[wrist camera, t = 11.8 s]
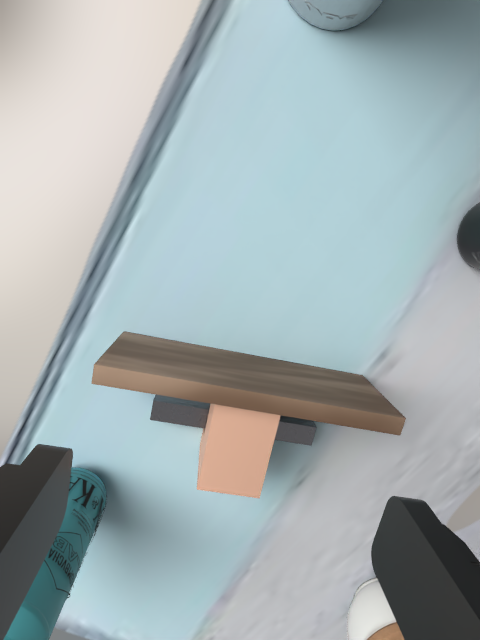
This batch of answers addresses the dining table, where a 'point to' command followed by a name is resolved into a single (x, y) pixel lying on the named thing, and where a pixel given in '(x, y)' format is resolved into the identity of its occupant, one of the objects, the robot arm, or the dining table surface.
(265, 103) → the dining table surface
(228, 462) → the cabinet block
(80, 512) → the beverage bottle
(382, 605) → the lidded jar
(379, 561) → the robot arm
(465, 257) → the supplement bottle
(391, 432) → the wall board
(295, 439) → the rail
